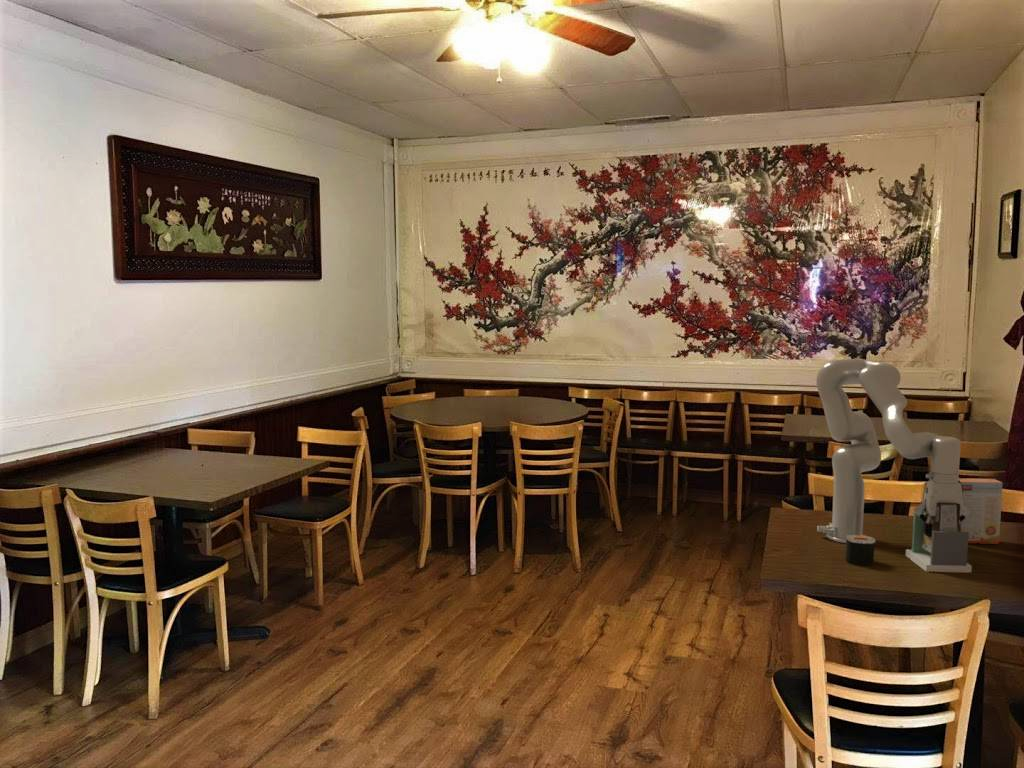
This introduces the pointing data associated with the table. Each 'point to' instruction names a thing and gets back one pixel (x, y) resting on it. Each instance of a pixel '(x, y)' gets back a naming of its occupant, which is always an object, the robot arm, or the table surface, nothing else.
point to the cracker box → (982, 510)
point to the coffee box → (943, 521)
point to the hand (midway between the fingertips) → (940, 535)
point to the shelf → (939, 550)
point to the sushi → (860, 550)
